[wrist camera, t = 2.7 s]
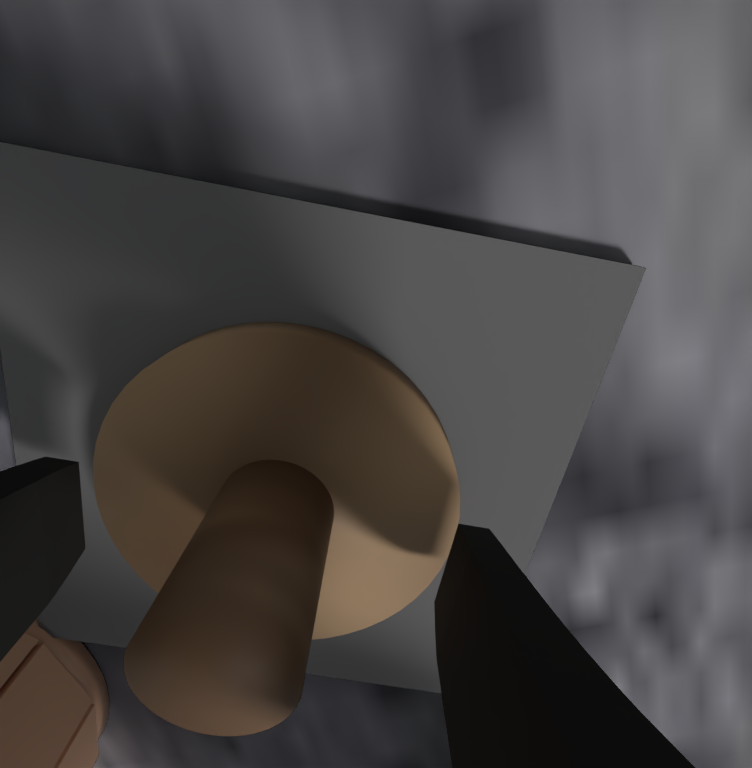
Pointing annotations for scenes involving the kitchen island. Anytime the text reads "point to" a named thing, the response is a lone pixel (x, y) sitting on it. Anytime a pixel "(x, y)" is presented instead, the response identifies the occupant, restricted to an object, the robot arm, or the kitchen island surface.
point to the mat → (299, 306)
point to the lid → (267, 512)
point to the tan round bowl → (50, 703)
